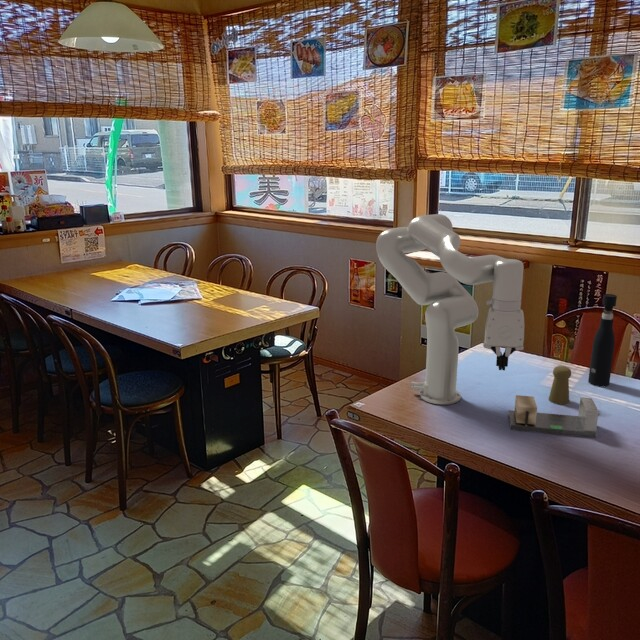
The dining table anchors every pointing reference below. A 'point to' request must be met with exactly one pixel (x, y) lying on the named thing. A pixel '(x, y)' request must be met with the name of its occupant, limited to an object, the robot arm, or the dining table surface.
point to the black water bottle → (603, 345)
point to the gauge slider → (525, 409)
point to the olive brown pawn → (560, 386)
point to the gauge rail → (563, 421)
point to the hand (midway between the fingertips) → (501, 368)
